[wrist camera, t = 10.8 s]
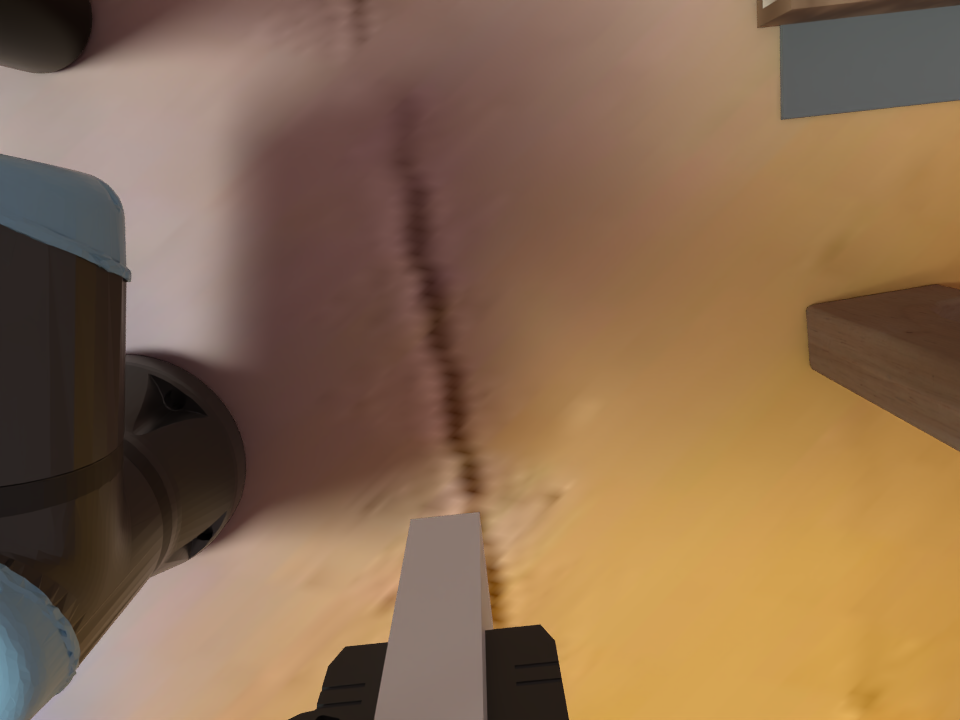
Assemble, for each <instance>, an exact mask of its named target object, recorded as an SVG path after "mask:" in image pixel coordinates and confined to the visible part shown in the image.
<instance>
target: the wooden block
mask: <svg viewBox="0 0 960 720" xmlns="http://www.w3.org/2000/svg"><path fill="white" fill-rule="evenodd" d="M806 315H807V330H808V345H809V360H810V366H811V368H812V369H813V370H815V371H817V372H818V373H820V374H822V375H824V376H826V377H827V378H829V379H831V380H833V381H835V382H836V383H838V384H840V385H842V386H843V387H845V388H847V389H849V390H851V391H852V392H854V393H856V394H858V395H860V396H861V397H863V398H865V399H867V400H868V401H870V402H872V403H874V404H876V405H877V406H879V407H881V408H883V409H885V410H886V411H888V412H890V413H892V414H893V415H895V416H897V417H899V418H901V419H902V420H904V421H906V422H908V423H910V424H911V425H913V426H915V427H917V428H918V429H920V430H922V431H924V432H926V433H927V434H929V435H931V436H933V437H935V438H936V439H938V440H940V441H942V442H943V443H945V444H947V445H949V446H951V447H952V448H954V449H956V450H958V451H960V290H959V289H954V288H950V287H946V286H941V285H937V284H936V285H930V286H923V287H917V288H911V289H905V290H899V291H893V292H887V293H881V294H875V295H869V296H863V297H857V298H851V299H845V300H839V301H833V302H827V303H821V304H815V305H811V306H809V307H807V310H806Z"/></svg>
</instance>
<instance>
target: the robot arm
mask: <svg viewBox="0 0 960 720" xmlns="http://www.w3.org/2000/svg"><path fill="white" fill-rule="evenodd" d="M126 282H131V271H130V270H129V269H128V268H127V267H126V242H125V216H124V210H123V206H122V204H121V201H120V199H119V197H118V196H117V194H116V193H115V192H114V190H113V189H112V188H111V187H110V186H109V185H107V184H106V183H105V182H103V181H102V180H100V179H99V178H97V177H95V176H92V175H89V174H86V173H82V172H79V171H75V170H70V169H66V168H62V167H58V166H53V165H49V164H44V163H40V162H35V161H31V160H26V159H22V158H17V157H12V156H8V155H3V154H0V720H30V719H31V718H32V717H33V716H34V715H35V714H36V713H37V712H38V711H39V710H40V709H41V708H42V707H43V706H44V705H45V704H46V703H47V702H48V701H49V700H50V699H51V698H52V697H53V696H55V695H57V694H59V693H60V692H61V691H62V690H64V688H65V687H66V686H67V685H68V684H69V683H70V681H71V680H72V678H73V676H74V675H75V674H76V671H75V670H76V669H77V668H78V667H79V665H80V664H81V662H82V661H83V660H84V659H85V657H86V656H87V655H88V654H89V652H90V651H91V650H92V649H93V647H94V646H95V645H96V644H97V643H98V641H99V640H100V639H101V638H102V636H103V635H104V634H105V633H106V631H107V630H108V629H109V628H110V626H111V625H112V624H113V623H114V621H115V620H116V619H117V618H118V616H119V615H120V614H121V613H122V612H123V610H124V609H125V608H126V607H127V605H128V604H129V603H130V602H131V600H132V599H133V598H134V597H135V595H136V594H137V593H138V592H139V590H140V589H141V588H142V587H143V585H144V584H145V583H146V582H147V580H148V579H149V578H150V577H152V576H155V575H157V574H159V573H161V572H164V571H166V570H168V569H170V568H173V567H175V566H177V565H179V564H182V563H184V562H186V561H187V560H189V559H191V558H192V557H194V556H195V555H197V554H198V553H200V552H201V551H202V550H203V549H205V548H206V547H207V546H208V545H209V544H210V543H211V542H212V541H213V540H214V539H215V538H216V537H217V535H218V534H219V533H220V532H221V530H222V529H223V528H224V526H225V525H226V523H227V522H228V521H229V519H230V518H231V516H232V515H233V513H234V511H235V509H236V508H237V505H238V503H239V501H240V498H241V495H242V492H243V488H244V482H245V474H246V461H245V452H244V447H243V443H242V439H241V436H240V433H239V431H238V428H237V426H236V424H235V422H234V420H233V418H232V416H231V414H230V413H229V411H228V410H227V408H226V407H225V405H224V404H223V403H222V401H221V400H220V399H219V398H218V397H217V396H216V394H215V393H214V392H213V391H212V390H211V389H210V388H208V387H207V386H206V385H205V384H204V383H203V382H201V381H200V380H199V379H197V378H196V377H195V376H193V375H191V374H190V373H188V372H187V371H185V370H183V369H181V368H179V367H177V366H175V365H173V364H170V363H167V362H165V361H162V360H158V359H155V358H151V357H146V356H139V355H125V353H126ZM289 720H569V717H568V712H567V706H566V700H565V695H564V689H563V684H562V678H561V672H560V667H559V661H558V655H557V650H556V644H555V640H554V639H553V638H552V637H551V636H550V635H549V634H548V633H547V631H546V630H545V629H544V628H543V627H542V626H541V625H531V626H521V627H512V628H502V629H493V622H492V613H491V605H490V596H489V588H488V580H487V571H486V563H485V555H484V546H483V538H482V529H481V521H480V513H479V512H476V513H466V514H457V515H447V516H438V517H428V518H419V519H411V521H410V527H409V532H408V538H407V543H406V548H405V554H404V559H403V565H402V570H401V576H400V581H399V586H398V592H397V597H396V603H395V608H394V614H393V619H392V625H391V630H390V635H389V641H388V642H386V643H376V644H367V645H357V646H347V647H345V648H344V649H343V650H342V651H341V652H340V653H339V654H338V656H337V657H336V658H335V659H334V660H333V661H332V663H331V664H330V665H329V666H328V669H327V672H326V676H325V679H324V682H323V686H322V691H321V693H320V696H319V699H318V703H317V709H315V710H314V711H310V712H305V713H301V714H299V715H297V716H295V717H293V718H291V719H289Z"/></svg>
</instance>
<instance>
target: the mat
mask: <svg viewBox="0 0 960 720" xmlns="http://www.w3.org/2000/svg"><path fill="white" fill-rule="evenodd" d="M780 78H781V120H783V119H792V118H801V117H810V116H819V115H828V114H837V113H846V112H856V111H865V110H874V109H883V108H892V107H901V106H910V105H919V104H929V103H938V102H947V101H956V100H960V5H956V6H947V7H938V8H929V9H920V10H912V11H903V12H894V13H885V14H876V15H867V16H858V17H849V18H840V19H831V20H822V21H813V22H804V23H796V24H787V25H780Z"/></svg>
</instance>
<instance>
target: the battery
mask: <svg viewBox="0 0 960 720" xmlns="http://www.w3.org/2000/svg"><path fill="white" fill-rule="evenodd" d="M91 26H92V11H91V4H90V0H0V66H4V67H9V68H13V69H17V70H21V71H26V72H31V73H50V72H54V71H58V70H60V69H62V68H64V67H66V66H68V65H69V64H71V63H72V62H73V61H74V60H76V59H77V57H78V56H79V55H80V54H81V53H82V51H83V50H84V48H85V46H86V44H87V42H88V39H89V36H90V32H91Z"/></svg>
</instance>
